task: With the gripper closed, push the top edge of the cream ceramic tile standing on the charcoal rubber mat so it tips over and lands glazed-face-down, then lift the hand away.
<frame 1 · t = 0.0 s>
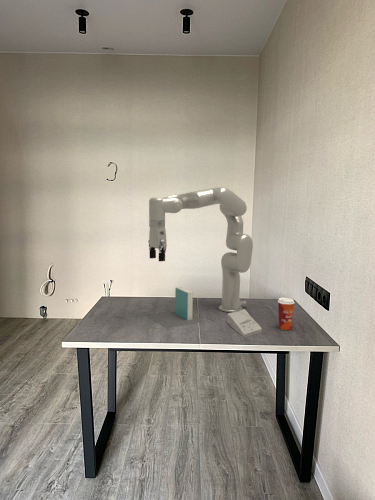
hand: (157, 259, 180), 31 cm above the table, tool pointing down, fingers open, 9 cm apart
paper cup: (285, 328, 178), on the table
tile: (183, 316, 192), point 1 cm above the table, touching mat
ramp: (243, 328, 179), on the table
mat: (175, 319, 189), on the table
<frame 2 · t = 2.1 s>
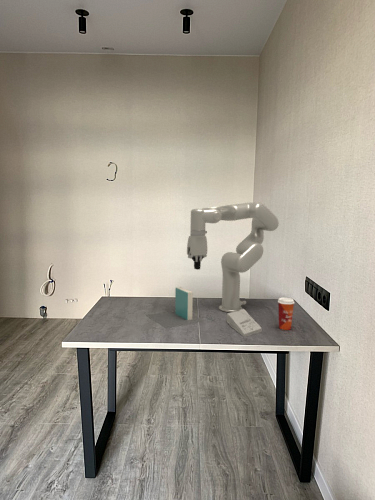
hand: (197, 269, 193), 25 cm above the table, tool pointing down, fingers closed
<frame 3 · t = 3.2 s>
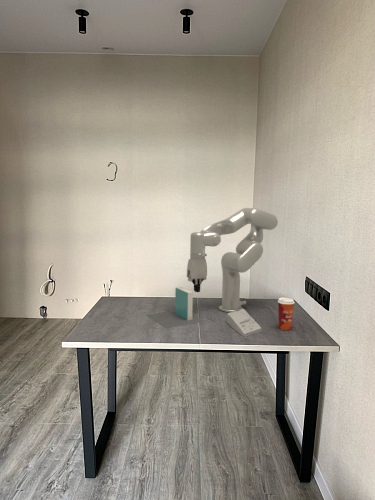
hand: (197, 291, 194), 13 cm above the table, tool pointing down, fingers closed
nothing on the table moved.
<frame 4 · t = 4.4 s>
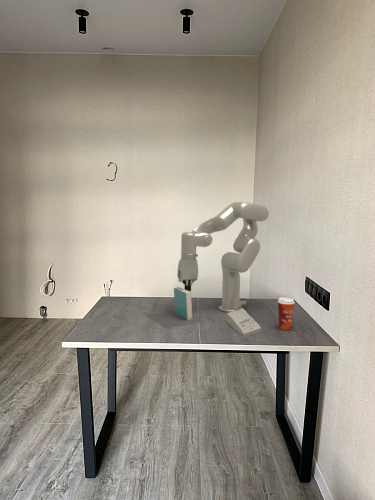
hand: (187, 292, 191), 13 cm above the table, tool pointing down, fingers closed
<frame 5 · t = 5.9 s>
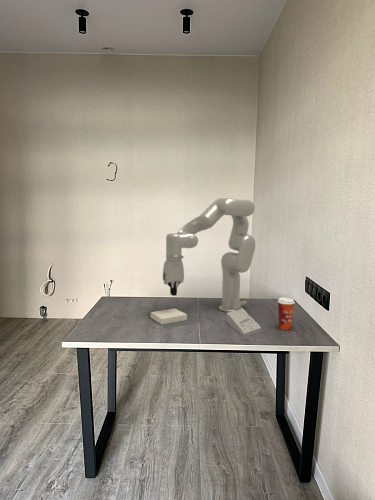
hand: (173, 294, 187), 13 cm above the table, tool pointing down, fingers closed
tile: (180, 314, 191), point 2 cm above the table, tilted 90°, touching mat
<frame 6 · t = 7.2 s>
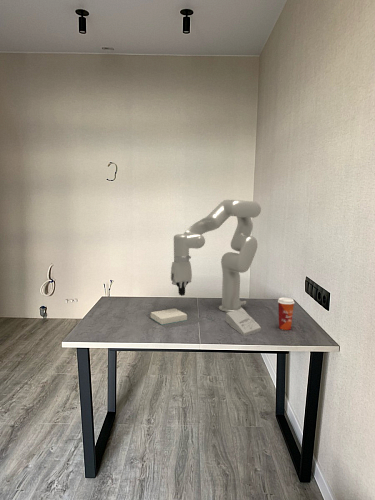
hand: (181, 294, 190), 12 cm above the table, tool pointing down, fingers closed
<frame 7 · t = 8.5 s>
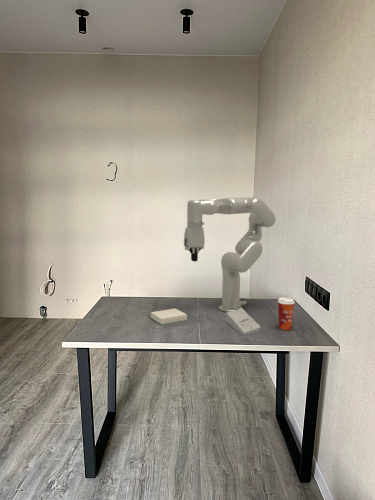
hand: (194, 260, 191), 29 cm above the table, tool pointing down, fingers closed
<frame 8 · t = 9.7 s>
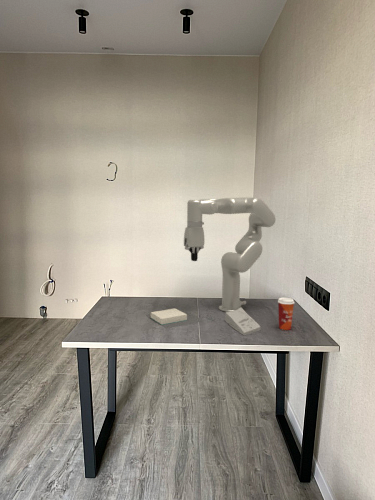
hand: (194, 260, 191), 29 cm above the table, tool pointing down, fingers closed
at the end: tile tilted 90°; tile inside the target area (0.3 cm from its centre), point 2.1 cm above the table; tile touching mat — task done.
